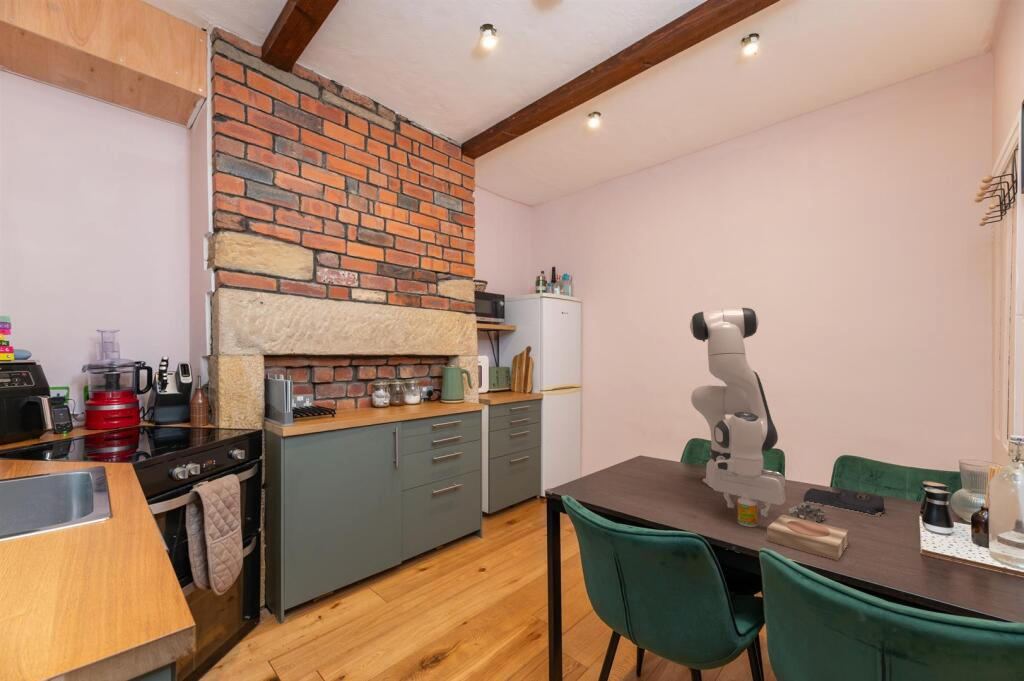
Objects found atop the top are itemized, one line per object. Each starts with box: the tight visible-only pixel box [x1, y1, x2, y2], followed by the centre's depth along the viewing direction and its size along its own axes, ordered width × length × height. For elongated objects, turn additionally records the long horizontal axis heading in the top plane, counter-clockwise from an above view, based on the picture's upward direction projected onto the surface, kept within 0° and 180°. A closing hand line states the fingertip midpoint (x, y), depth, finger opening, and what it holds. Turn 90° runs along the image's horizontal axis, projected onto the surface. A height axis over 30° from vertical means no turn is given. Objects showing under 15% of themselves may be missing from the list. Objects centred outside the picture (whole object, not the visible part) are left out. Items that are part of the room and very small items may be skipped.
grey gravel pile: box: [788, 501, 827, 523], centre depth 137 cm, size 11×8×4 cm
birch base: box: [766, 514, 850, 561], centre depth 120 cm, size 14×16×4 cm
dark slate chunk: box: [803, 487, 885, 515], centre depth 150 cm, size 15×22×5 cm
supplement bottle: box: [737, 493, 759, 528], centre depth 133 cm, size 5×5×10 cm
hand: (747, 511), depth 133 cm, fingers open, 8 cm apart
